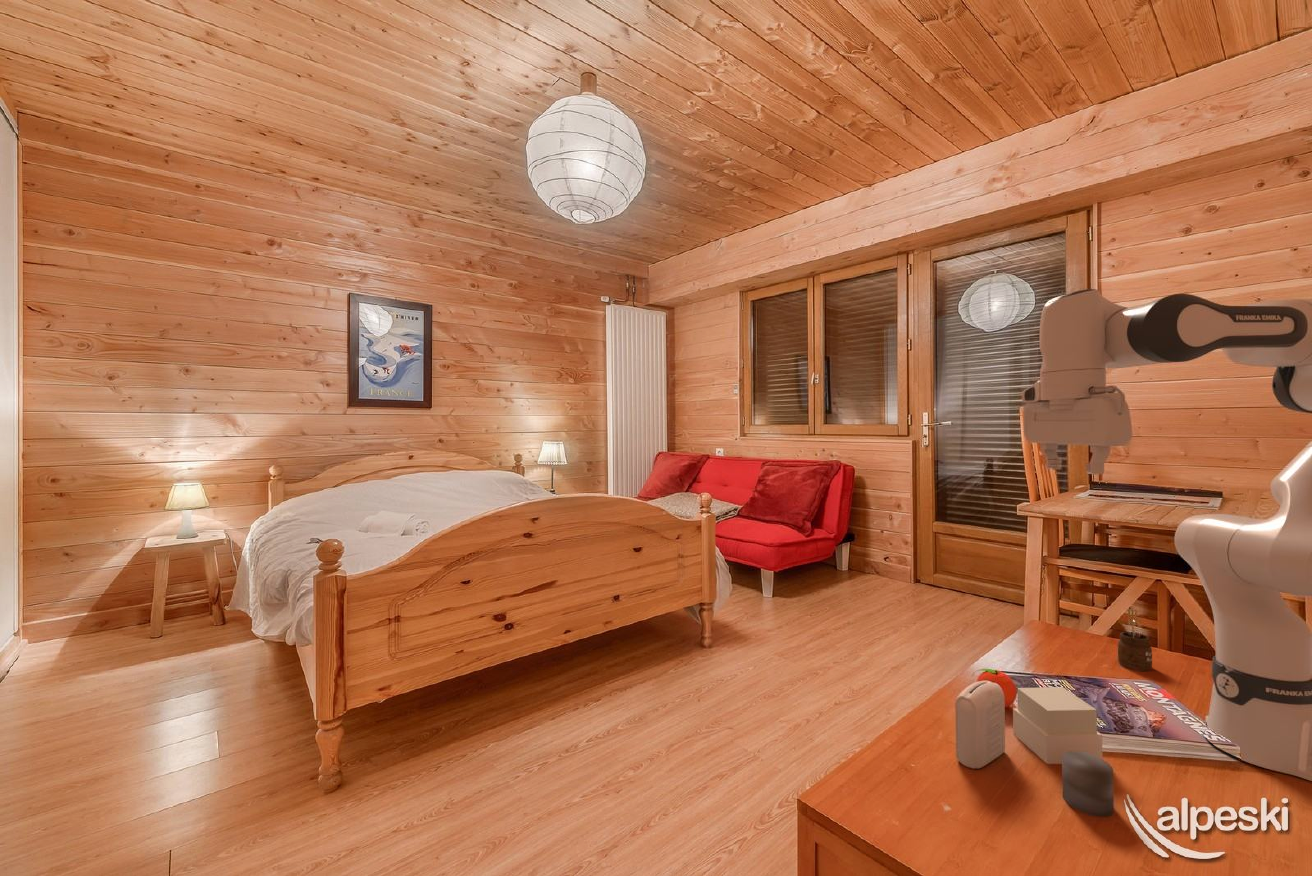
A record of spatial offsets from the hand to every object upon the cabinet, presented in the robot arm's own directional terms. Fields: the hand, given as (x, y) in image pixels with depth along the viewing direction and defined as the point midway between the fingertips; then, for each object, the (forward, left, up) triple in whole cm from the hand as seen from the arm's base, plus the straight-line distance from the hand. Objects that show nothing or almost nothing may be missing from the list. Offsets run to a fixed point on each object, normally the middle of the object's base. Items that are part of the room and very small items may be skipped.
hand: (1073, 471), depth 94 cm
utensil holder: (-37, -33, -48) cm, 69 cm away
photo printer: (+16, 0, -48) cm, 51 cm away
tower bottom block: (+2, -2, -48) cm, 48 cm away
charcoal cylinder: (+7, +12, -48) cm, 50 cm away
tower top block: (+2, -2, -43) cm, 43 cm away
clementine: (+4, -17, -48) cm, 51 cm away
